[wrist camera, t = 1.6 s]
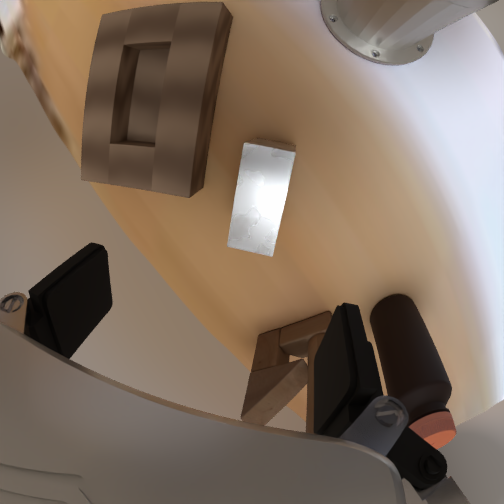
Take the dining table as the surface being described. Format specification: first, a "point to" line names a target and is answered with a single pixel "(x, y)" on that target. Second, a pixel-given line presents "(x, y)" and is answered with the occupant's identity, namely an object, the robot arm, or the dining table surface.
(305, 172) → the dining table surface
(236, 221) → the grey bar
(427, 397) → the bottle
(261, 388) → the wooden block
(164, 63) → the post base
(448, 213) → the dining table surface
